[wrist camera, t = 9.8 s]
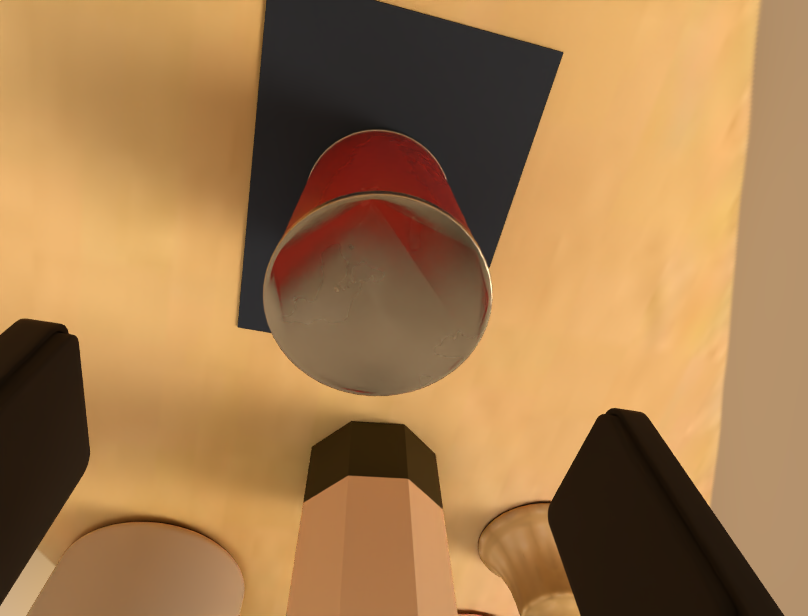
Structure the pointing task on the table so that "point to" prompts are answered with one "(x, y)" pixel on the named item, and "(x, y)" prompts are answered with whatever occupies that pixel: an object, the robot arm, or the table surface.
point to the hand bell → (528, 561)
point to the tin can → (377, 270)
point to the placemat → (387, 111)
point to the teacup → (468, 615)
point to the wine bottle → (372, 528)
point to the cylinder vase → (142, 575)
